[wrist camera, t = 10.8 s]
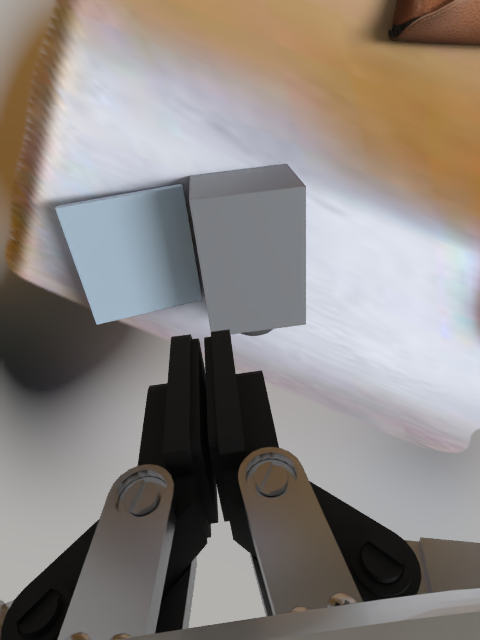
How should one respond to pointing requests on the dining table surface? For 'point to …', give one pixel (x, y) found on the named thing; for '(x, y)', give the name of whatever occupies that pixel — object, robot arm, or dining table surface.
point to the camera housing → (251, 247)
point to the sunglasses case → (437, 21)
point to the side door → (132, 251)
